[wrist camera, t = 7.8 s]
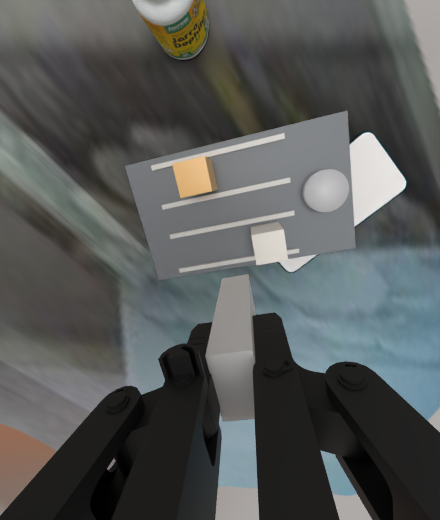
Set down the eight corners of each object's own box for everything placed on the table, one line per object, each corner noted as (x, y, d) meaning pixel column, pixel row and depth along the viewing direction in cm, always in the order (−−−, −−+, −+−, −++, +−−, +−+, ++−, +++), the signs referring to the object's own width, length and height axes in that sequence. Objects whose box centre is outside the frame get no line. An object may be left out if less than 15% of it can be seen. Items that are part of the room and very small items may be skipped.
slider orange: (191, 195, 27) (180, 198, 23) (184, 166, 26) (172, 163, 22) (217, 189, 27) (212, 191, 22) (211, 160, 26) (204, 155, 22)
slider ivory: (255, 252, 28) (256, 265, 24) (250, 226, 28) (251, 235, 23) (281, 247, 28) (288, 260, 24) (278, 221, 27) (283, 229, 23)
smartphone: (364, 127, 26) (248, 227, 31) (369, 126, 26) (248, 228, 30) (406, 186, 28) (289, 274, 32) (411, 186, 27) (290, 276, 31)
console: (165, 273, 33) (153, 286, 29) (134, 167, 30) (115, 164, 25) (347, 242, 30) (363, 252, 25) (338, 116, 26) (356, 104, 22)
